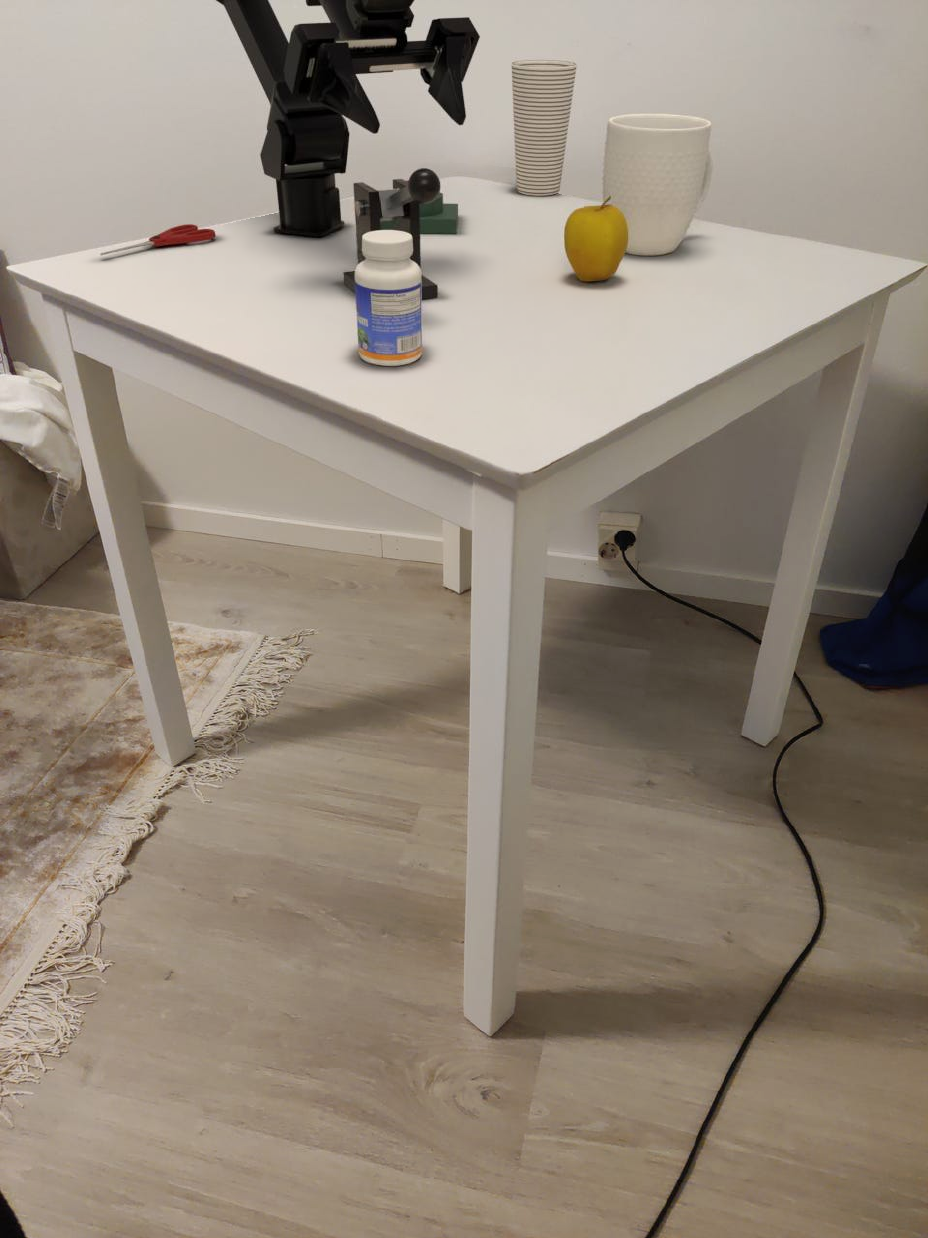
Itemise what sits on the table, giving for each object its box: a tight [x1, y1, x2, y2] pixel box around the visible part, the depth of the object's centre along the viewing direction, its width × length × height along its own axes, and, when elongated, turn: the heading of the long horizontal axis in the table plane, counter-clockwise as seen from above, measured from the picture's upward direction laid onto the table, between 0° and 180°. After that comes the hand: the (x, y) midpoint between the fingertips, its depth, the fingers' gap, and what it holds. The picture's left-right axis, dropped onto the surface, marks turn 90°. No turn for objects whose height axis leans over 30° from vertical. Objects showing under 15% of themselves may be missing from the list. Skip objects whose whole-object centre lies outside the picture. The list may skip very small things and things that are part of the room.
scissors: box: [99, 223, 216, 256], centre depth 108 cm, size 5×14×1 cm, turn 140°
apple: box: [563, 196, 628, 282], centre depth 96 cm, size 6×6×8 cm
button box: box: [380, 191, 459, 235], centre depth 116 cm, size 10×8×4 cm
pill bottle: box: [354, 230, 423, 367], centre depth 78 cm, size 5×5×10 cm
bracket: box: [342, 178, 439, 300], centre depth 92 cm, size 8×7×10 cm
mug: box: [602, 113, 713, 257], centre depth 106 cm, size 15×11×13 cm
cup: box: [511, 59, 578, 197], centre depth 128 cm, size 8×8×16 cm
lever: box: [378, 167, 442, 221], centre depth 86 cm, size 13×3×3 cm, turn 25°
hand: (421, 125), depth 88 cm, fingers open, 9 cm apart
